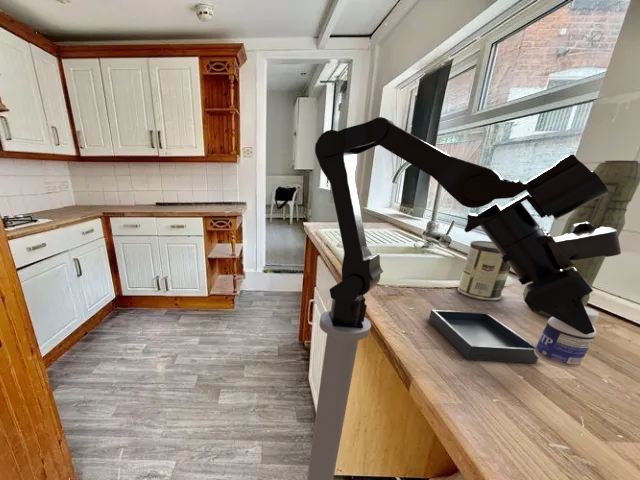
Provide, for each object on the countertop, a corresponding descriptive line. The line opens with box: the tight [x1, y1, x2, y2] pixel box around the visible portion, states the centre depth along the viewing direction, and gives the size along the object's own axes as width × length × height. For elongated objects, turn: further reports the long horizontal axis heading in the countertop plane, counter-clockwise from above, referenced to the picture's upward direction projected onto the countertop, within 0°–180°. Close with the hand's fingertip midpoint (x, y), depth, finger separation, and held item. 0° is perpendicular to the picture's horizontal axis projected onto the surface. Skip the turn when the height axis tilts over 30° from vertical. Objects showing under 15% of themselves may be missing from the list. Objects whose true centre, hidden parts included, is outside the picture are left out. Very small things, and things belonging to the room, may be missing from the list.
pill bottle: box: [534, 306, 600, 370], centre depth 46 cm, size 5×5×9 cm
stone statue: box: [537, 160, 640, 318], centre depth 70 cm, size 9×12×35 cm
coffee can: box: [457, 240, 512, 301], centre depth 84 cm, size 10×10×14 cm
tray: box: [428, 309, 539, 364], centre depth 62 cm, size 12×15×3 cm
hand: (586, 326), depth 44 cm, fingers closed on pill bottle, 5 cm apart
